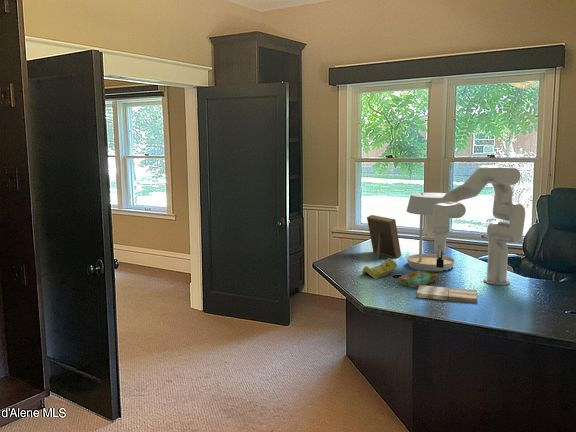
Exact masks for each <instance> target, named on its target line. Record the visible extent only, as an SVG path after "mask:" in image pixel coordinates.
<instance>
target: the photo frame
mask: <svg viewBox="0 0 576 432" xmlns="http://www.w3.org/2000/svg"><path fill="white" fill-rule="evenodd" d="M366 219H367V225H368V231H369V236H370V241H371V247H372V251H373V253H376V258H377V259H379V258H380V255H383V256H387V257H390V258H394V259H399V258H400V257H402V251H401V244H400V240H399V234H398V229H397V223H396V221H397V220H396V219H395V218H390V217H384V216H379V215H375V214H374V215H373V214H371V215H368V216H367V217H366Z"/></svg>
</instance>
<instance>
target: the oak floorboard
mask: <svg viewBox="0 0 576 432" xmlns="http://www.w3.org/2000/svg"><path fill="white" fill-rule="evenodd" d="M448 288H449V292H448V299H447V301H449V302H461V303H472V304H478V291H477V289H466V288H453V287H448Z"/></svg>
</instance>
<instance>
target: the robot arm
mask: <svg viewBox="0 0 576 432" xmlns="http://www.w3.org/2000/svg"><path fill="white" fill-rule="evenodd" d="M521 176H522V175H521V171H520V170H519V169H518V168H517V167H507V166H496V165H480V166H478V167H477V168H476V169H475V170H474V171H473V173H472V174H471V175H470V176H469V177H468V178H467V179H466V180H465V182H464V183H463V184H460V185H459V186H456V187H455V188H453V189H451V190H450V191H448V192H446V194H445V195H444V196H443V197H442V199H441V200H440V201H439V202H438V204H435V205H434V206H433V215H432V233H433V234H434V237H433V239H434V241H433V254H437V264H436V267H437V268H443V267H444V259H443V255H445V253H446V247H447V235H448V234H449V233H450V219H460V218H462V217H464V216H465V214H466V210H467V209H466V206H465V205H464V203H462V202H460V201H464V200H469V199H472V198H475V197H477V196H479V194H480V193H481V191H483V190H484V188H485V187H486V186H487V185H488V184H491V186H492V188H493V190H494V197H493V204H492V205H493V207H492V216H493V217H494V218H495V219H498V220H502V221H494V222H490V223H489V225H488V226H487V228H486V235H487V243H488V246H487V247H488V248H487V270H486V277H484V278H483V282H484V283H487V284H489V285H496V286H505V285H506V286H507V285H509V284H510V279H508V278H507V277H508V259H509V258H508V257H509V247H508V243H509V244H517V243H519V242H521V240H522V239H523V238H522V237H523V234H524V228H525V220H526V210H525V207H524V205H523V204H521V203H519V202H513V193H514V192H513V188H512V186H513V185H514V186H515V185H516V184H518V183H519V181H520V180H521ZM503 221H508V222H509V223H507V222H503Z"/></svg>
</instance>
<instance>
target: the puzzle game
mask: <svg viewBox="0 0 576 432" xmlns="http://www.w3.org/2000/svg"><path fill="white" fill-rule="evenodd" d="M439 277H440V276H439V273H438V274H437V273H434V272H430V271H423V270H416V271H414V272H411V273H407V274H403V275H402V276H399V277H398V278H397V280H398V282H399V283H400V285H402V286H407V287H411V288H415V289H418V288H419V285H425V286H427V285H429V284H431V283H433V282H435V280H436V279H437V278H439Z"/></svg>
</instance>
